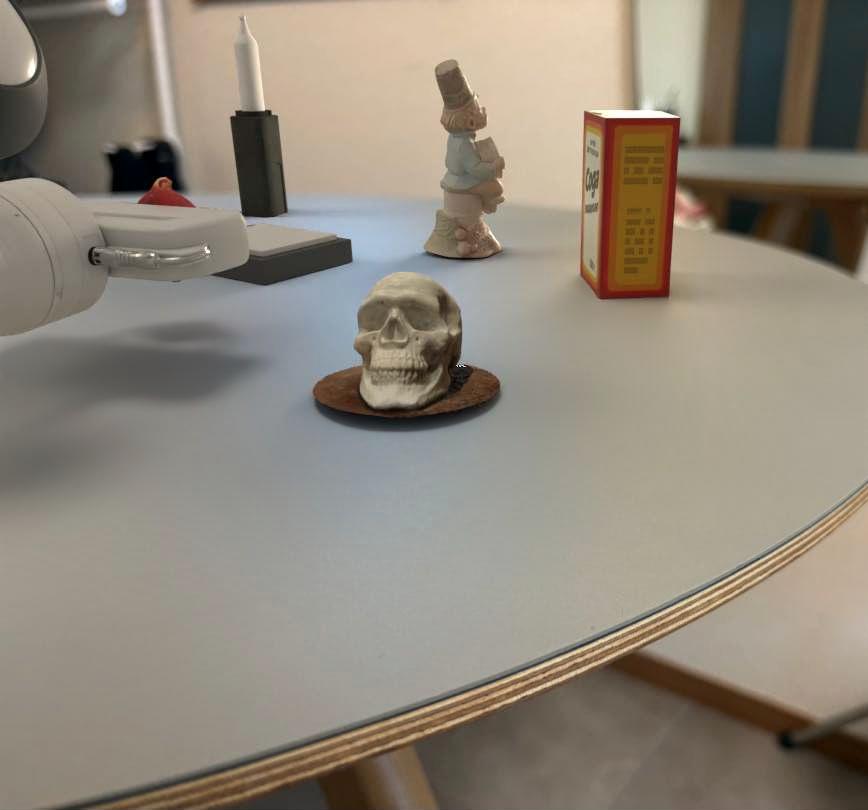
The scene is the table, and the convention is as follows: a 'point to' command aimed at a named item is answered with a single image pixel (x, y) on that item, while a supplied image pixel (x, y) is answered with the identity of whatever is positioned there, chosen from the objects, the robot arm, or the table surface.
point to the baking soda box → (628, 202)
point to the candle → (256, 136)
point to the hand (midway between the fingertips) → (172, 215)
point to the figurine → (465, 172)
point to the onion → (164, 196)
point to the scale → (288, 254)
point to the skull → (407, 355)
